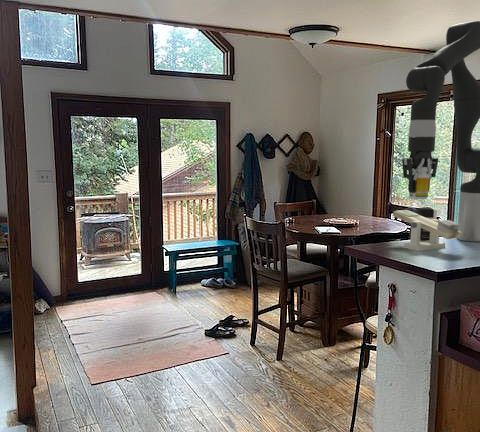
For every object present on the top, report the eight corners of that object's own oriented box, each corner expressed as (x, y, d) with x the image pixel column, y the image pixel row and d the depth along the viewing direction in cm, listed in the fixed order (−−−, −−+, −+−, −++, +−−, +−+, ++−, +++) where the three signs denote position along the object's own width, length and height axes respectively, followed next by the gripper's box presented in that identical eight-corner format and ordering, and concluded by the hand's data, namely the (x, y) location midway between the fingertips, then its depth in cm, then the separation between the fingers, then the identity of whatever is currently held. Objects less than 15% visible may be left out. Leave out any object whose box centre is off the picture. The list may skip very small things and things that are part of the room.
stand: (429, 244, 165) (431, 218, 164) (444, 247, 160) (446, 220, 159) (403, 247, 158) (405, 220, 157) (418, 251, 153) (420, 223, 152)
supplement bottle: (405, 198, 148) (407, 166, 147) (415, 197, 151) (416, 166, 150) (421, 199, 144) (423, 167, 142) (431, 198, 147) (433, 167, 146)
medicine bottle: (417, 242, 169) (419, 208, 167) (413, 238, 176) (415, 206, 174) (438, 243, 168) (441, 208, 166) (433, 239, 175) (435, 206, 173)
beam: (406, 214, 169) (409, 203, 168) (461, 237, 151) (464, 225, 150) (392, 215, 165) (394, 204, 164) (446, 239, 148) (449, 226, 146)
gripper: (427, 136, 152) (423, 190, 154) (395, 135, 144) (392, 192, 147) (448, 136, 145) (444, 192, 148) (416, 135, 138) (413, 194, 140)
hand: (418, 191), depth 147 cm, fingers closed on supplement bottle, 5 cm apart
